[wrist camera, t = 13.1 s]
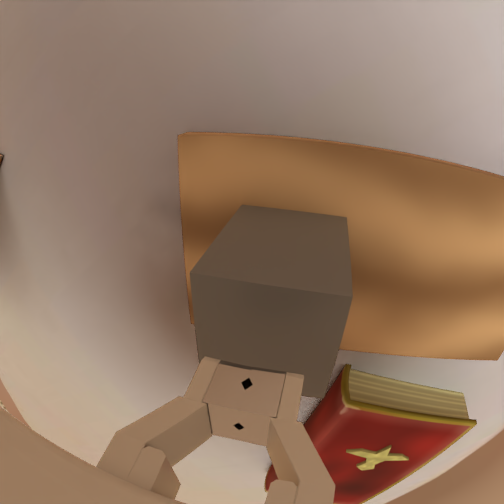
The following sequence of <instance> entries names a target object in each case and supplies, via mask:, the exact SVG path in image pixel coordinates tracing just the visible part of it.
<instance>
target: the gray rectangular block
mask: <svg viewBox="0 0 504 504" xmlns="http://www.w3.org/2000/svg"><path fill="white" fill-rule="evenodd" d="M190 283H191V294H192V304H193V314H194V324H195V333H196V341H197V350H198V358H199V364H200V362H201V360H202V359H203V358H204V357H205V356H206V357H210V358H214V359H219V360H223V361H228V362H232V363H236V364H241V365H245V366H250V367H259V368H265V369H271V370H278V371H284V372H286V374H287V372H288V373H295V374H302V375H304V381H303V387H302V393H301V396H308V397H315V398H323V399H324V396H325V393H326V390H327V387H328V384H329V381H330V378H331V374H332V371H333V368H334V365H335V361H336V358H337V354H338V351H339V347H340V344H341V340H342V337H343V333H344V329H345V326H346V322H347V318H348V314H349V310H350V306H351V302H352V298H353V290H352V273H351V259H350V247H349V235H348V225H347V217H341V216H334V215H326V214H319V213H311V212H303V211H295V210H286V209H278V208H269V207H260V206H251V205H241V206H240V208H239V209H238V210H237V211H236V213H235V214H234V215H233V217H232V218H231V219H230V220H229V222H228V223H227V224H226V225H225V227H224V228H223V229H222V231H221V232H220V233H219V235H218V236H217V237H216V238H215V240H214V241H213V242H212V244H211V245H210V246H209V248H208V249H207V250H206V252H205V253H204V254H203V255H202V257H201V258H200V259H199V261H198V262H197V263H196V265H195V266H194V267H193V269H192V270H191V271H190Z"/></svg>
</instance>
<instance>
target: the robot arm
mask: <svg viewBox="0 0 504 504" xmlns="http://www.w3.org/2000/svg"><path fill="white" fill-rule="evenodd" d="M303 381H304V375H302V374H295V373H288V372H287V374H286V372H284V371H278V370H271V369H265V368H259V367H250V366H245V365H241V364H236V363H232V362H228V361H223V360H219V359H214V358H210V357H206V356H205V357H204V358H203V359H202V360H201V362H200V364H199V366H198V368H197V370H196V372H195V374H194V376H193V379H192V381H191V383H190V385H189V387H188V389H187V391H186V393H185V395H184V397H180V396H178V397H177V398H175V399H173V400H172V401H170V402H168V403H167V404H165V405H163V406H161V407H160V408H158V409H156V410H155V411H153V412H151V413H149V414H148V415H146V416H144V417H142V418H140V419H139V420H137V421H135V422H133V423H131V424H130V425H128V426H126V427H124V428H122V429H120V430H119V431H117V432H116V433H115V435H114V437H113V438H112V440H111V442H110V444H109V445H108V447H107V449H106V451H105V452H104V454H103V456H102V457H101V459H100V461H99V463H98V464H97V466H96V467H95V466H93V465H91V464H89V463H87V462H86V461H84V460H82V459H80V458H78V457H76V456H74V455H73V454H71V453H69V452H67V451H66V450H64V449H62V448H61V447H59V446H57V445H56V444H54V443H52V442H51V441H49V440H47V439H46V438H44V437H43V436H41V435H40V434H38V433H37V432H35V431H34V430H32V429H31V428H29V427H28V426H26V425H25V424H23V423H22V422H21V421H19V420H18V419H16V418H15V417H14V416H12V415H11V414H10V413H8V412H7V411H6V410H4V409H3V408H2V407H0V504H186V503H183V502H180V501H177V500H175V497H176V495H177V492H178V490H179V487H180V485H181V484H180V482H179V480H178V478H177V476H176V474H175V473H174V471H173V469H172V466H174V465H175V464H176V463H178V462H179V461H180V460H182V459H183V458H184V457H186V456H187V455H188V454H190V453H191V452H192V451H194V450H195V449H196V448H197V447H199V446H200V445H201V444H203V443H204V442H205V441H206V440H208V439H209V438H210V437H211V436H212V435H217V436H221V437H226V438H231V439H236V440H241V441H245V442H249V443H254V444H258V445H263V446H266V448H267V451H268V453H269V456H270V459H271V461H272V464H273V466H274V469H275V472H276V474H277V477H278V479H279V480H275V481H273V482H271V483H270V487H269V490H268V494H267V498H266V501H265V504H333V500H334V493H335V484H334V482H333V480H332V478H331V476H330V475H329V473H328V471H327V469H326V467H325V465H324V463H323V462H322V460H321V458H320V456H319V454H318V452H317V450H316V449H315V447H314V445H313V443H312V441H311V439H310V437H309V435H308V433H307V432H306V430H305V428H304V426H303V424H302V422H298V421H297V416H298V410H299V405H300V399H301V393H302V387H303Z"/></svg>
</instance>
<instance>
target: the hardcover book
mask: <svg viewBox="0 0 504 504" xmlns="http://www.w3.org/2000/svg"><path fill="white" fill-rule="evenodd" d="M350 368H351V365H349V364H346V365H345V367H344V368H343V370H342V371H341V373H340V374H339V376H338V377H337V379H336V380H335V382H334V383H333V385H332V386H331V388H330V389H329V391H328V392H327V394H326V395H325V396H324V399H322V401H321V402H320V404H319V405H318V406H317V408H316V409H315V410H314V412H313V413H312V415H311V416H310V417H309V419H308V420H307V421H306V423H305V424H304V425H303V426H304V428H305V430H306V432H307V433H308V435H309V437H310V439H311V441H312V443H313V445H314V447H315V449H316V450H317V452H318V454H319V456H320V458H321V460H322V462H323V463H324V465H325V467H326V469H327V471H328V473H329V475H330V476H331V478H332V480H333V482H334V484H335V493H334V500H333V504H362V503H364V502H366V501H368V500H370V499H371V498H373V497H375V496H377V495H379V494H380V493H382V492H384V491H385V490H387V489H389V488H391V487H392V486H394V485H395V484H397V483H399V482H400V481H402V480H403V479H405V478H407V477H408V476H410V475H411V474H413V473H414V472H416V471H417V470H419V469H420V468H421V467H423V466H424V465H426V464H427V463H429V462H430V461H431V460H433V459H434V458H435V457H437V456H438V455H439V454H441V453H442V452H443V451H445V450H446V449H447V448H449V447H450V446H451V445H452V444H454V443H455V442H456V441H457V440H459V439H460V438H461V437H462V436H463V435H465V434H466V433H467V432H468V431H469V430H470V429H472V428H473V427H474V426H475V425H476V424H477V422H476V420H472V419H469V416H468V412H467V407H466V403H465V399H464V395H463V393H460V392H455V391H449V390H444V389H438V388H433V387H428V386H423V385H418V384H413V383H409V382H404V381H399V380H395V379H390V378H386V377H382V376H377V375H373V374H369V373H365V372H361V371H357V370H353V369H350ZM275 480H279V479H278V477H277V474H276V472H275V469H274V466H273V464H272V465H271V467H270V468H269V470H268V472H267V475H266V479H265V488H264V489H265V492H268V490H269V487H270V483H271V482H273V481H275Z"/></svg>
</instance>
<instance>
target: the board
mask: <svg viewBox="0 0 504 504" xmlns="http://www.w3.org/2000/svg"><path fill="white" fill-rule="evenodd" d="M178 163H179V186H180V204H181V220H182V235H183V248H184V260H185V271H186V282H187V292H188V302H189V311H190V320H191V324H194V314H193V304H192V294H191V283H190V271H191V270H192V269H193V267H194V266H195V265H196V263H197V262H198V261H199V259H200V258H201V257H202V255H203V254H204V253H205V252H206V250H207V249H208V248H209V246H210V245H211V244H212V242H213V241H214V240H215V238H216V237H217V236H218V235H219V233H220V232H221V231H222V229H223V228H224V227H225V225H226V224H227V223H228V222H229V220H230V219H231V218H232V217H233V215H234V214H235V213H236V211H237V210H238V209H239V208H240V206H241V205H251V206H260V207H269V208H278V209H286V210H295V211H303V212H311V213H319V214H326V215H334V216H341V217H347V225H348V235H349V247H350V259H351V273H352V290H353V298H352V302H351V306H350V310H349V314H348V318H347V322H346V326H345V329H344V333H343V337H342V340H341V344H340V347H339V349H343V350H351V351H360V352H369V353H379V354H389V355H400V356H412V357H426V358H443V359H465V360H498V359H499V357H500V355H501V354H502V352H503V351H504V176H500V175H497V174H494V173H490V172H487V171H483V170H479V169H475V168H472V167H468V166H464V165H460V164H456V163H452V162H447V161H443V160H438V159H434V158H429V157H425V156H420V155H415V154H410V153H405V152H399V151H394V150H388V149H382V148H376V147H370V146H363V145H357V144H349V143H342V142H334V141H326V140H317V139H308V138H298V137H287V136H274V135H260V134H241V133H214V132H186V133H183V134H180V135H178Z"/></svg>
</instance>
